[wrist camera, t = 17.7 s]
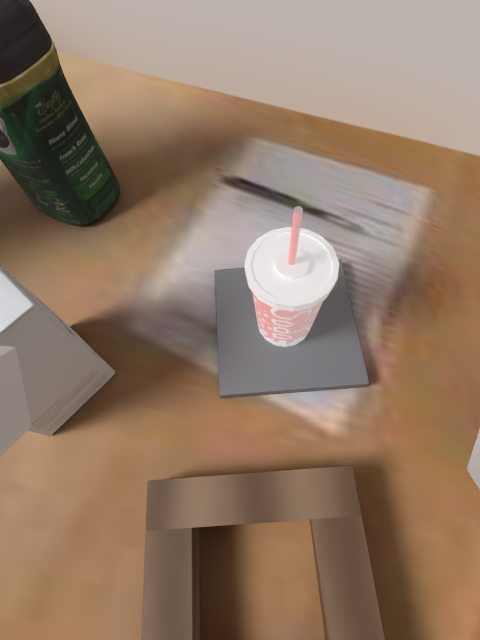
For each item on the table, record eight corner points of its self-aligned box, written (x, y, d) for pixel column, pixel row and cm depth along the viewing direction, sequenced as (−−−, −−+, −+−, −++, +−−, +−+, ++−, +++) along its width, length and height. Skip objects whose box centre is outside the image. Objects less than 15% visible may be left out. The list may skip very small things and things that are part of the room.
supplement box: (119, 372, 31) (38, 305, 20) (49, 439, 29) (-86, 406, 18) (69, 322, 34) (-28, 237, 22) (2, 380, 32) (-145, 318, 20)
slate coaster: (220, 398, 30) (219, 395, 29) (215, 276, 35) (214, 270, 34) (365, 386, 30) (369, 383, 29) (338, 265, 35) (341, 259, 34)
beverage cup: (238, 340, 31) (221, 237, 18) (264, 283, 33) (264, 156, 21) (306, 366, 30) (338, 274, 17) (328, 304, 32) (371, 183, 19)
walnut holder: (151, 739, 21) (135, 775, 19) (159, 481, 27) (147, 480, 25) (388, 725, 21) (407, 760, 18) (343, 468, 27) (352, 465, 24)
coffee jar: (134, 189, 41) (45, -23, 24) (88, 238, 38) (-49, 39, 21) (71, 161, 43) (-49, -48, 26) (24, 205, 40) (-144, 4, 24)
